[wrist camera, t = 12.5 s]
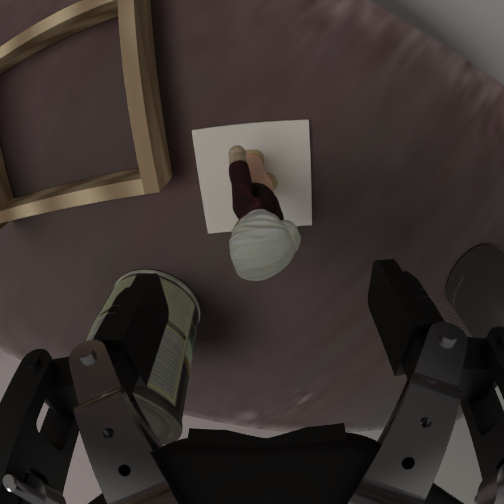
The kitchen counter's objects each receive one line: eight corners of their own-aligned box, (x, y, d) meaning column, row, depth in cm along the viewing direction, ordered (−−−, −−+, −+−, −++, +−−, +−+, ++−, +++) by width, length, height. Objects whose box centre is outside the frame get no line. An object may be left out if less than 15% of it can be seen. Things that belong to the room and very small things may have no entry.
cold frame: (149, -15, 15) (59, -83, 3) (174, 187, 25) (108, 287, 12) (-21, 70, 16) (-117, 95, 4) (9, 219, 26) (-69, 290, 13)
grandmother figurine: (207, 157, 23) (164, 226, 12) (245, 127, 22) (238, 166, 11) (266, 226, 26) (276, 335, 15) (303, 201, 25) (342, 298, 14)
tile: (307, 119, 22) (308, 119, 21) (310, 222, 26) (311, 224, 26) (193, 129, 22) (191, 130, 22) (208, 230, 27) (208, 233, 26)
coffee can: (215, 333, 33) (202, 447, 21) (138, 344, 34) (107, 442, 22) (178, 257, 28) (136, 379, 16) (96, 278, 29) (37, 379, 17)
